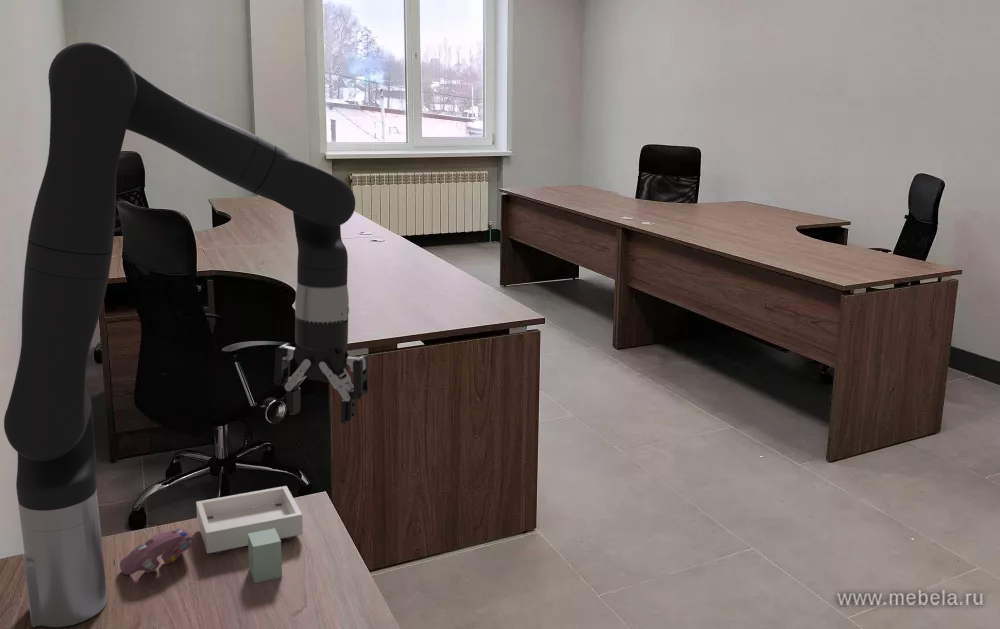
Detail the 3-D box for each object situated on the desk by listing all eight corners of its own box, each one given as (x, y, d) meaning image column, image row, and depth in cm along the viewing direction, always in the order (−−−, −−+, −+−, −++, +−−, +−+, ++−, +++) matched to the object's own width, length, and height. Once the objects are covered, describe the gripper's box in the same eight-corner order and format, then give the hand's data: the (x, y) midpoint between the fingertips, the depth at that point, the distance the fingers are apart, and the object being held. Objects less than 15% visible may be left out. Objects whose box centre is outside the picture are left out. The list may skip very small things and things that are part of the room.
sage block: (254, 583, 121) (253, 546, 120) (249, 569, 125) (247, 533, 123) (282, 577, 123) (280, 541, 121) (276, 563, 126) (274, 528, 125)
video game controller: (131, 591, 121) (139, 561, 117) (115, 568, 122) (123, 538, 119) (191, 563, 128) (201, 534, 125) (175, 542, 130) (185, 512, 127)
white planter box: (207, 560, 126) (206, 533, 125) (197, 527, 135) (196, 501, 134) (302, 540, 133) (302, 514, 131) (287, 510, 142) (286, 485, 141)
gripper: (264, 312, 118) (264, 418, 122) (355, 326, 114) (352, 435, 118) (291, 301, 125) (290, 402, 129) (378, 313, 121) (374, 417, 125)
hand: (320, 417), depth 123 cm, fingers open, 8 cm apart
